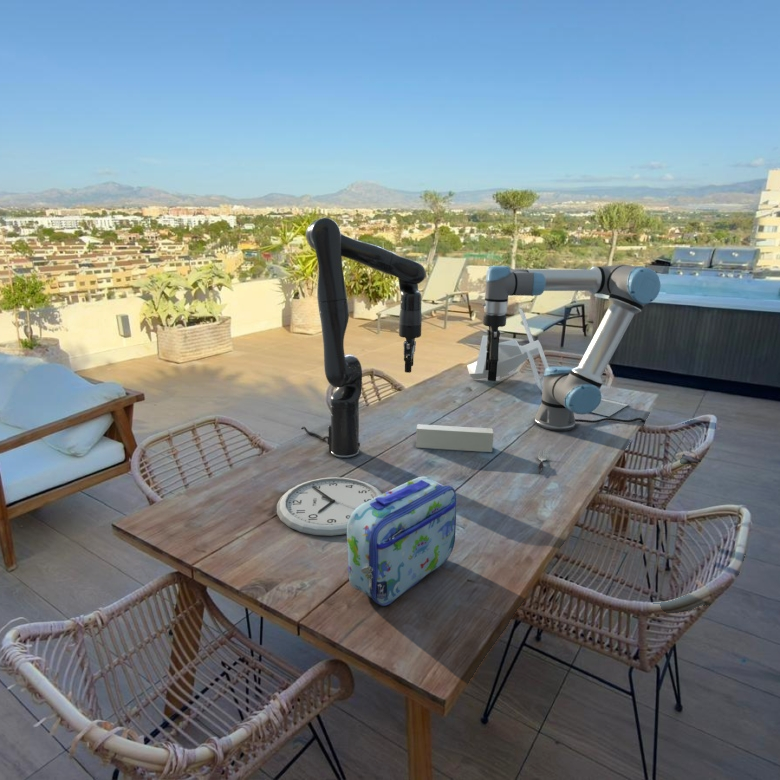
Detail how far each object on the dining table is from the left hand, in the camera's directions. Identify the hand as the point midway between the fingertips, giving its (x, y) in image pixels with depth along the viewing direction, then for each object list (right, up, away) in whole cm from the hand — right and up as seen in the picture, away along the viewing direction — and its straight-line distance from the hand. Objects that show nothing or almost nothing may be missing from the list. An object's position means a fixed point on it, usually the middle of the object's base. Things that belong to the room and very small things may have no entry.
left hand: (409, 369), depth 181 cm
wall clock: (-22, -39, -38) cm, 59 cm away
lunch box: (-4, -48, -67) cm, 82 cm away
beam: (+16, -27, +1) cm, 31 cm away
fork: (+42, -32, -11) cm, 54 cm away
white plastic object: (+50, -6, +72) cm, 88 cm away
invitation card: (+85, -15, +46) cm, 97 cm away
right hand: (+28, -2, -1) cm, 28 cm away
